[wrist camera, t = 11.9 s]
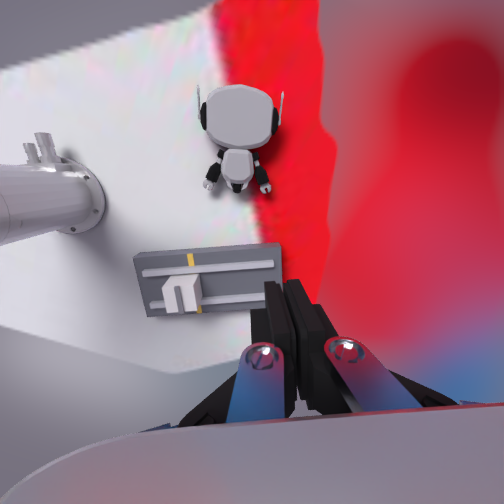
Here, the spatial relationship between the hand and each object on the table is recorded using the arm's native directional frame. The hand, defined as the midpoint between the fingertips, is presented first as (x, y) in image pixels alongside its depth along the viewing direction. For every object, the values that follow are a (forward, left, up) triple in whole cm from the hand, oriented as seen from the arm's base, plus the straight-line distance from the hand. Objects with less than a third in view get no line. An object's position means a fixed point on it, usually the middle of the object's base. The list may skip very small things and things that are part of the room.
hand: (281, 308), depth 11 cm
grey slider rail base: (+12, -9, -32) cm, 35 cm away
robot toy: (-11, -2, -32) cm, 34 cm away
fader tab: (+12, -13, -29) cm, 34 cm away
